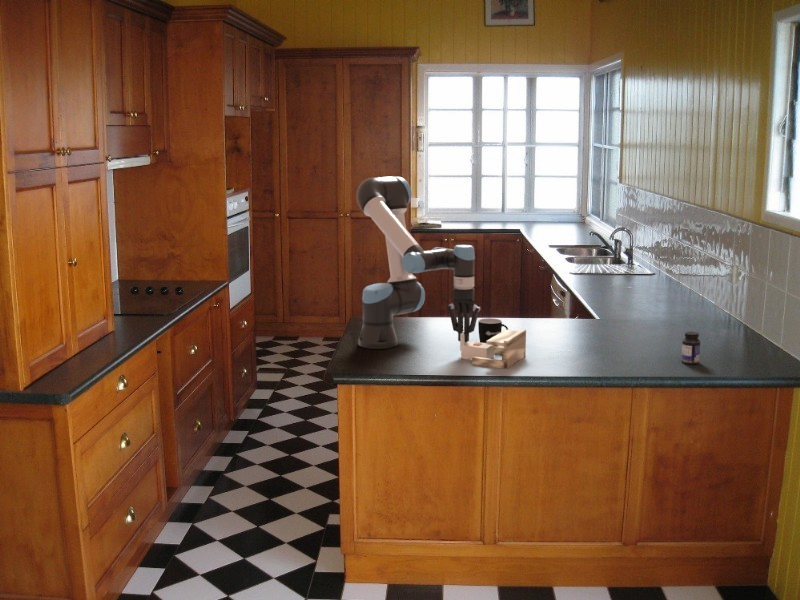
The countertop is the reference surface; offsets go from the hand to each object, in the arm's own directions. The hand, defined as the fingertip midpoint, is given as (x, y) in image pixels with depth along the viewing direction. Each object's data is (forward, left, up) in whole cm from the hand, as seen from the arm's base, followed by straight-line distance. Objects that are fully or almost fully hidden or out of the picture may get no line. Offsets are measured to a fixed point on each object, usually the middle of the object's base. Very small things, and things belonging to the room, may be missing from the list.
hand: (463, 350), depth 328 cm
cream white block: (+6, 0, -2) cm, 6 cm away
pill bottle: (+77, +28, -2) cm, 81 cm away
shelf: (+13, 0, -2) cm, 13 cm away
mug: (+5, +18, -2) cm, 19 cm away
